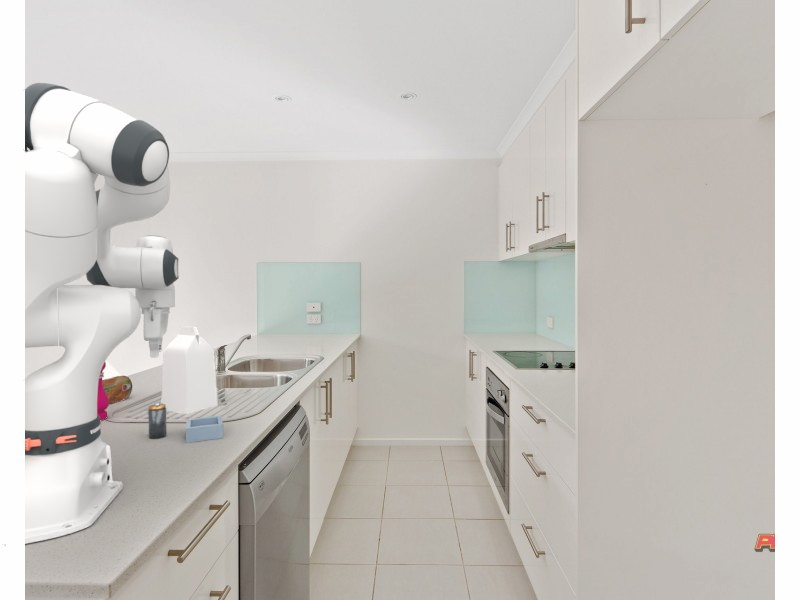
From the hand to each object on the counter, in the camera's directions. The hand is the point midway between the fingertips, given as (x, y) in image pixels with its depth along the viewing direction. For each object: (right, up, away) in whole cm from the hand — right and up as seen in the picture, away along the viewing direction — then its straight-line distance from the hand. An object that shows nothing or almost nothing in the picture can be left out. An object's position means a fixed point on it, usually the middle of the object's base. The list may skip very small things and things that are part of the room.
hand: (156, 354), depth 114 cm
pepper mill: (-26, -21, +15) cm, 37 cm away
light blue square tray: (+12, -21, +2) cm, 24 cm away
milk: (-5, -21, +28) cm, 35 cm away
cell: (0, -21, +1) cm, 21 cm away
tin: (-34, -21, +34) cm, 52 cm away
